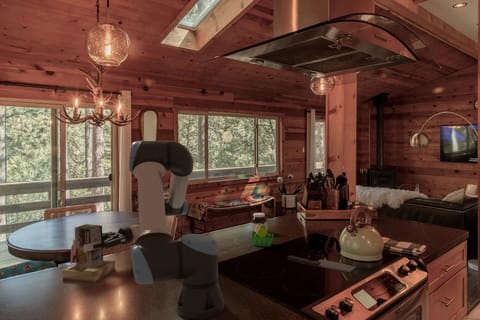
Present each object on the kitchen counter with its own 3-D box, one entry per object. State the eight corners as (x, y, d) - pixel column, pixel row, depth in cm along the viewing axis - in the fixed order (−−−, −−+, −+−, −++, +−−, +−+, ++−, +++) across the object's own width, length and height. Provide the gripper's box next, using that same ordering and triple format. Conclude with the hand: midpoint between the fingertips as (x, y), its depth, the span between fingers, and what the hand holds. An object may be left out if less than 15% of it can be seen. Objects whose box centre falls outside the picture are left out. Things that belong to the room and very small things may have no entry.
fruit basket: (273, 243, 178) (273, 222, 178) (272, 248, 170) (272, 226, 169) (252, 242, 180) (252, 221, 180) (250, 247, 172) (250, 225, 171)
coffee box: (104, 263, 138) (103, 225, 138) (91, 269, 133) (90, 229, 132) (88, 260, 142) (87, 223, 141) (75, 265, 136) (73, 227, 136)
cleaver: (285, 262, 149) (285, 257, 149) (293, 256, 158) (293, 251, 158) (353, 275, 135) (353, 270, 135) (357, 267, 143) (357, 262, 143)
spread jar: (260, 230, 206) (260, 211, 205) (274, 233, 198) (274, 214, 197) (246, 234, 198) (246, 214, 197) (260, 237, 189) (259, 217, 189)
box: (93, 282, 129) (93, 273, 129) (62, 279, 132) (62, 270, 132) (115, 269, 143) (114, 261, 142) (86, 266, 146) (86, 258, 146)
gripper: (143, 247, 142) (90, 261, 126) (117, 238, 158) (68, 248, 142) (142, 230, 142) (89, 241, 126) (117, 222, 158) (67, 231, 142)
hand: (78, 245), depth 134 cm, fingers closed on coffee box, 10 cm apart
